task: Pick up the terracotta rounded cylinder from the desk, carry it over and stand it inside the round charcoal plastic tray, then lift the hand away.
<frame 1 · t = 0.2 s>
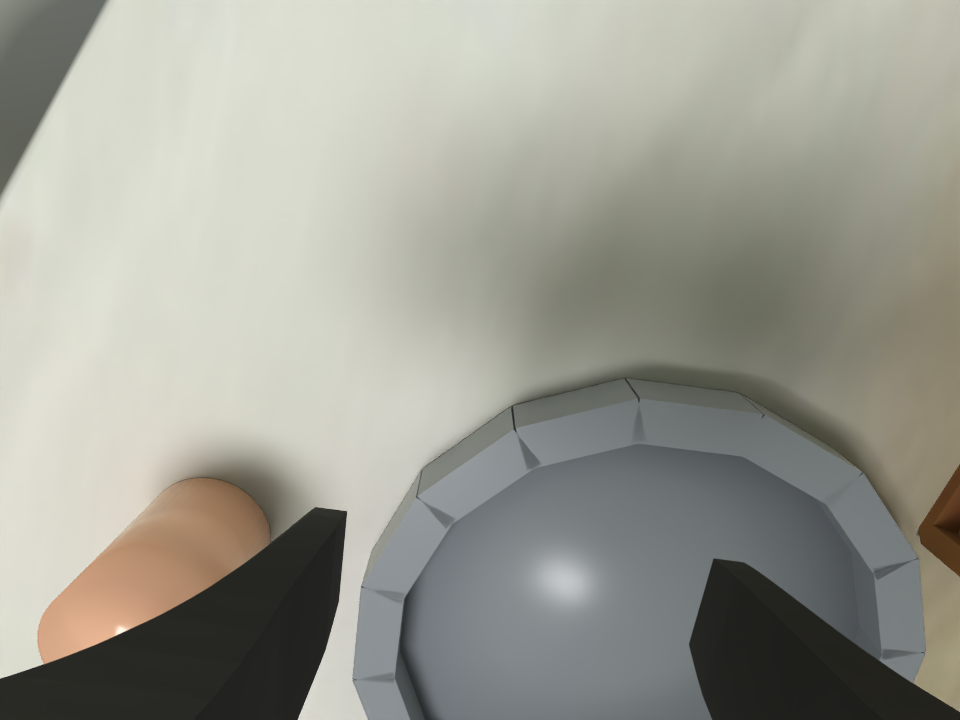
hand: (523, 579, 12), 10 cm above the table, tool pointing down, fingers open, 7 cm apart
terracotta rounded cylinder: (209, 532, 23), on the table
round tray: (624, 627, 24), on the table
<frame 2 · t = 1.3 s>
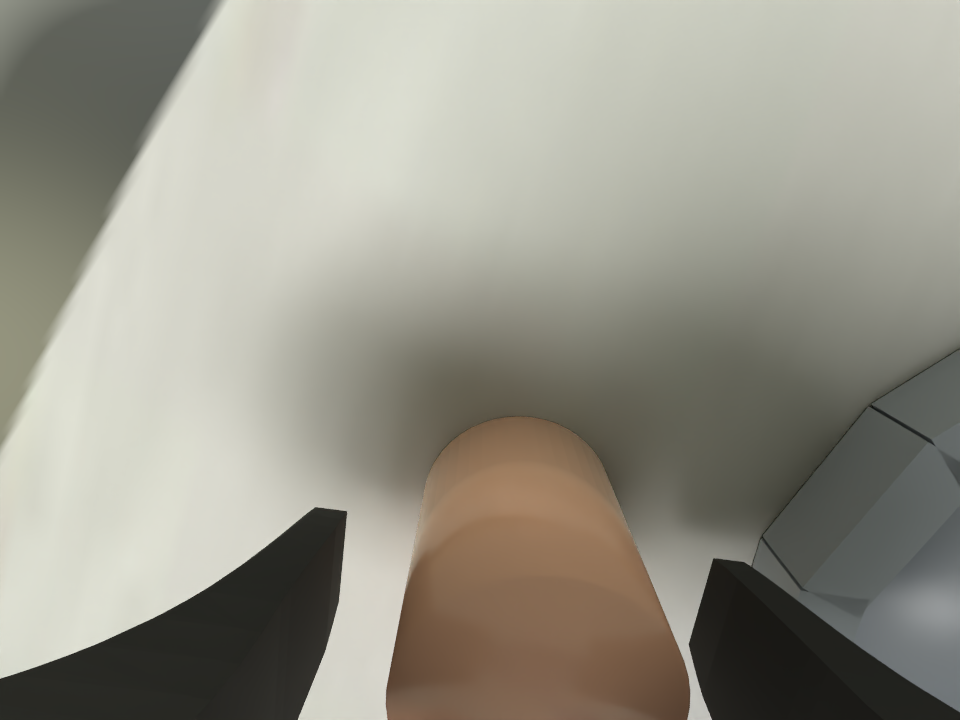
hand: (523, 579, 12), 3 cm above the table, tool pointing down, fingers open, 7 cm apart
terracotta rounded cylinder: (517, 503, 15), on the table
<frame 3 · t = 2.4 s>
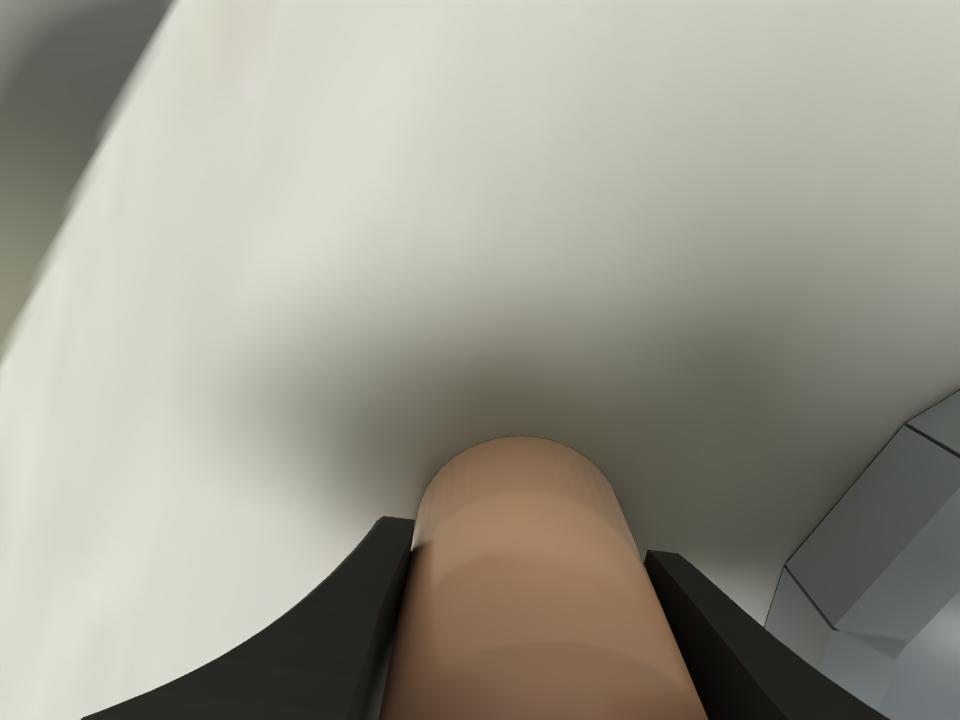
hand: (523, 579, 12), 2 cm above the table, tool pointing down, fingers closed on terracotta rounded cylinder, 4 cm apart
terracotta rounded cylinder: (518, 530, 14), on the table, touching gripper
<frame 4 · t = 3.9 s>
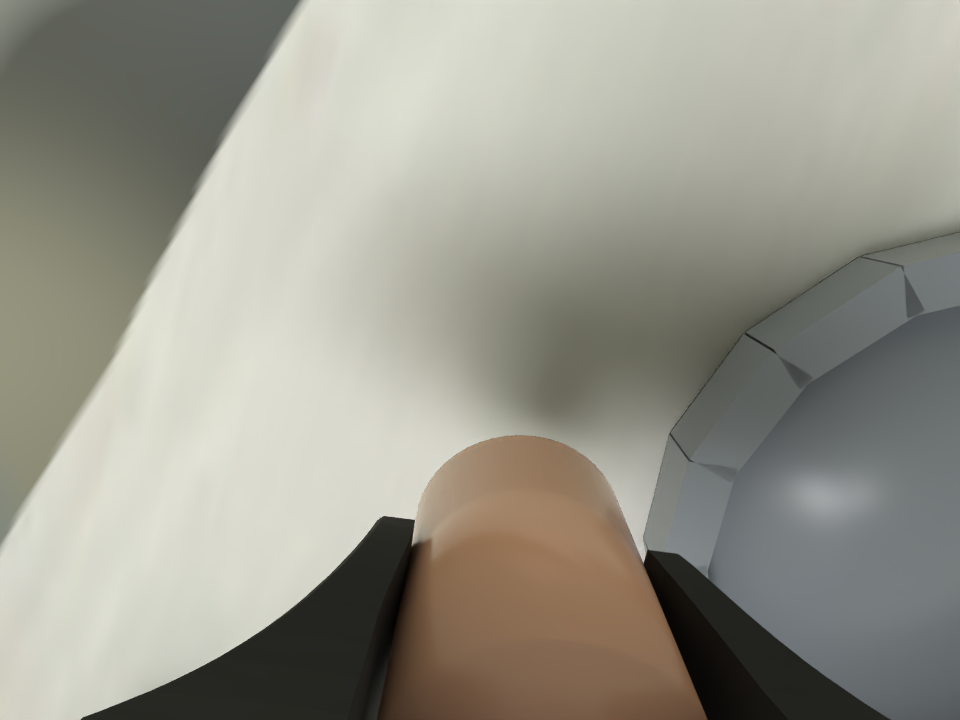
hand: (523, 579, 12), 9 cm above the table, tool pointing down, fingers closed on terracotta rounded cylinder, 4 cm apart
terracotta rounded cylinder: (517, 529, 14), point 7 cm above the table, touching gripper
round tray: (940, 525, 22), on the table
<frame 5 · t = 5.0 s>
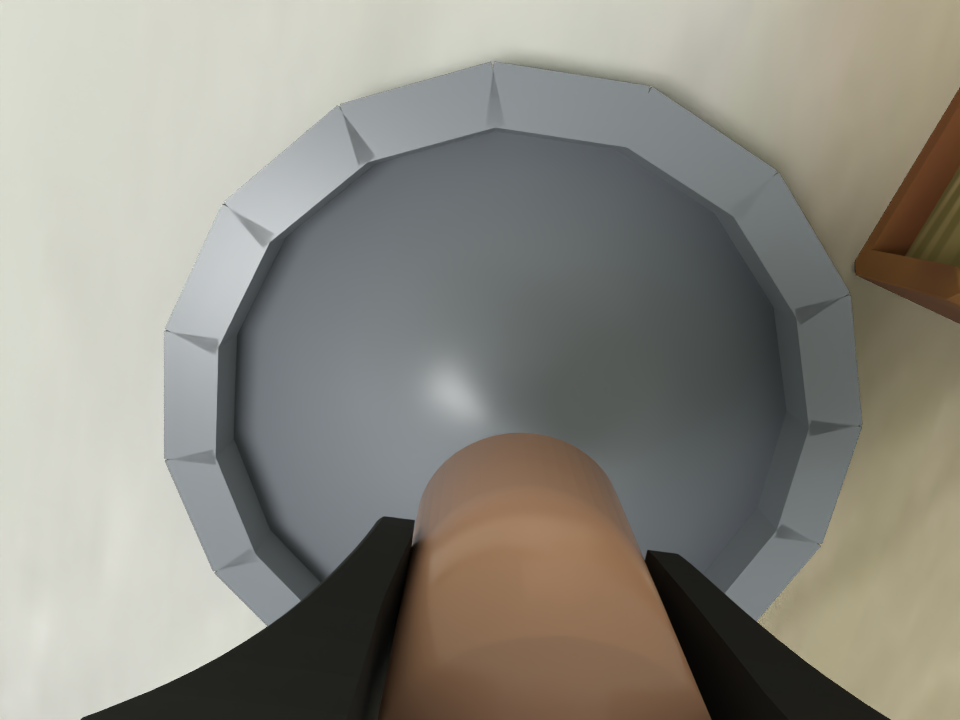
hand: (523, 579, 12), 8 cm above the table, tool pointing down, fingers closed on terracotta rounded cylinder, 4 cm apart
terracotta rounded cylinder: (518, 527, 14), point 7 cm above the table, touching gripper
round tray: (507, 417, 20), on the table
when the fingers open (3 cm above the table, at t = 6.7 s): terracotta rounded cylinder stays where it is, resting on round tray.
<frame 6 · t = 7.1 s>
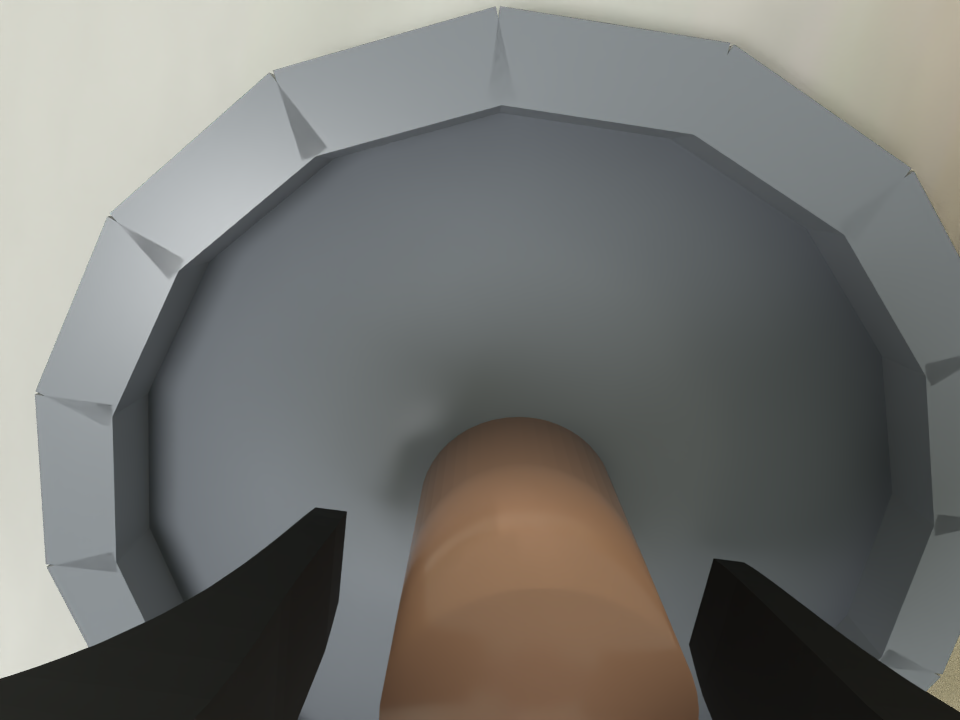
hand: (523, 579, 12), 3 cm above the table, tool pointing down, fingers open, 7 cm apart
terracotta rounded cylinder: (516, 506, 15), point 1 cm above the table, touching round tray
round tray: (515, 497, 15), on the table
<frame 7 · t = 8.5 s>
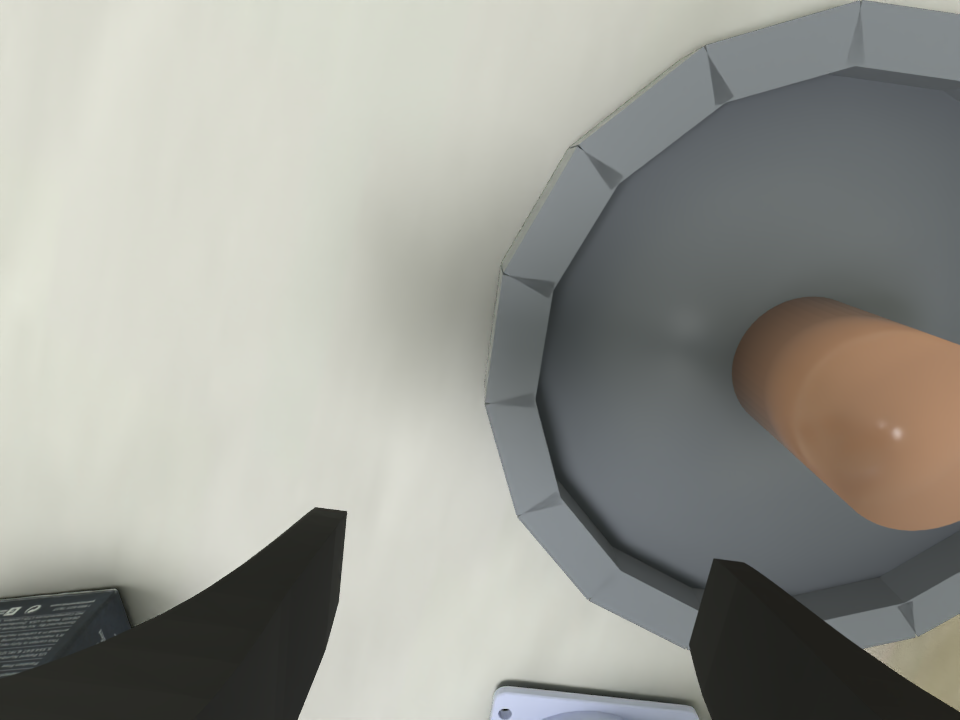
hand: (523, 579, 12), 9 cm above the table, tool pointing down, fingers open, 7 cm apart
box: (84, 671, 25), on the table
terracotta rounded cylinder: (802, 366, 20), point 1 cm above the table, touching round tray
round tray: (793, 362, 21), on the table
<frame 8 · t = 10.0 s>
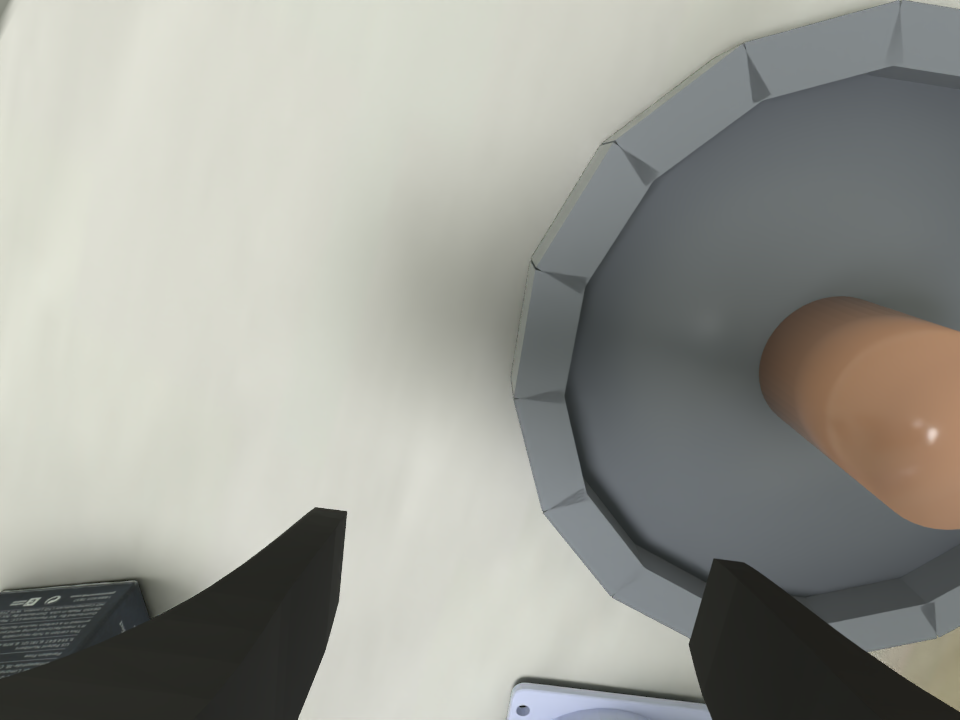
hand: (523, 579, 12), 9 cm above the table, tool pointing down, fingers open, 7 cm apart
box: (101, 663, 25), on the table
terracotta rounded cylinder: (829, 365, 20), point 1 cm above the table, touching round tray
round tray: (819, 362, 21), on the table
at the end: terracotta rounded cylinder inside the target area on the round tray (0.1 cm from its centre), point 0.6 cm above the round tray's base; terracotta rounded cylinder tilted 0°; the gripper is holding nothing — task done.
